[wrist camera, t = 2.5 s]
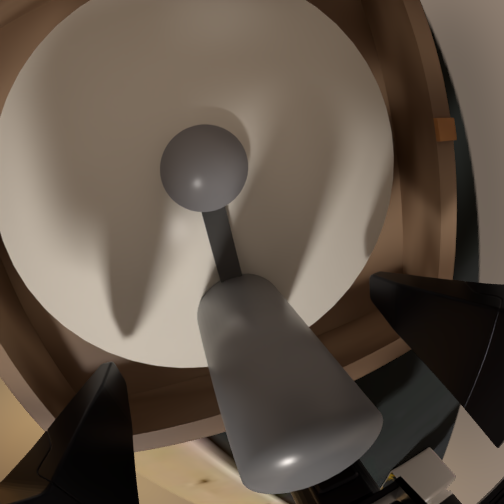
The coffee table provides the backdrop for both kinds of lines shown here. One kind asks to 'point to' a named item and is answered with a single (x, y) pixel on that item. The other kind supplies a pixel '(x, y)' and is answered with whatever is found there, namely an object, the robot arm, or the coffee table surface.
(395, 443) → the coffee table surface
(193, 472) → the coffee table surface
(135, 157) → the dial
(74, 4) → the dial frame
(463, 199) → the coffee table surface
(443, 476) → the medicine bottle
